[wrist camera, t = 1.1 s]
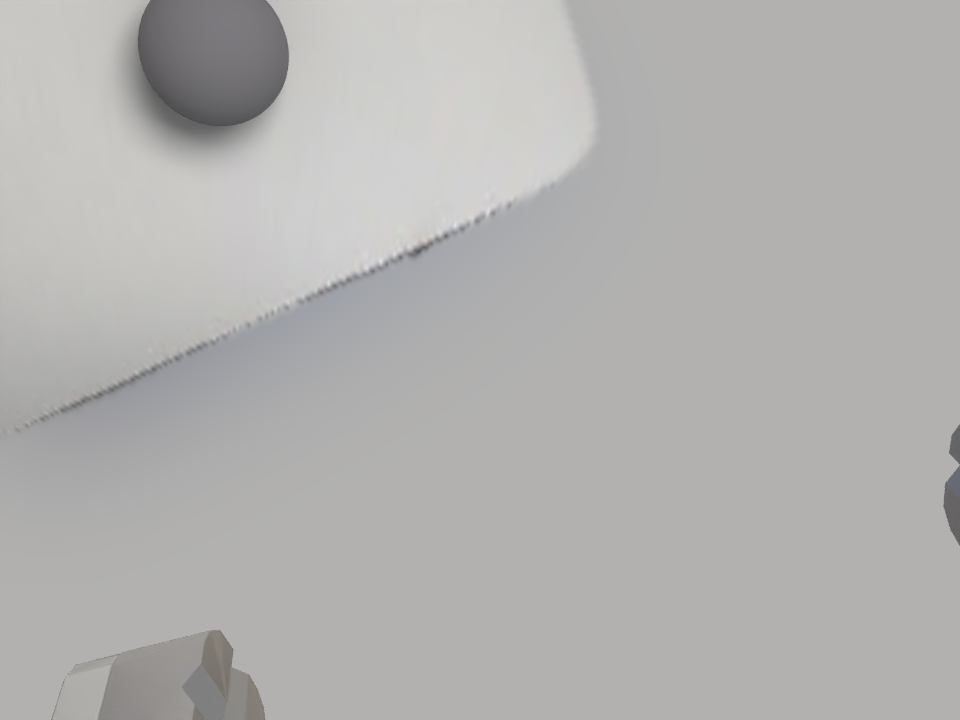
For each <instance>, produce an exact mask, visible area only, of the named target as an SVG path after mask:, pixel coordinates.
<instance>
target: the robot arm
mask: <svg viewBox="0 0 960 720" xmlns="http://www.w3.org/2000/svg"><path fill="white" fill-rule="evenodd" d="M949 453H950V455H952V457H954V459H955V460H956V461H957V462H958V463H959V464H960V425H959V426H958V427H957V429H956V430H955V432H954V433H953V434H952V437H951V444H950V451H949ZM944 509H945V513H946V516H947V519H948V523H949V526H950V529H951V531H952V533H953V535H954V536H955V538H956V540H957V542H958V543H959V545H960V466H959V467H958V469H957V470H956V471H955V472H954V474H953V475H952V476H951V477H950V478H949V480H948V481H947V482H946V484H945V494H944ZM232 656H233V648H232V647H231V645H230V644H229V642H228V641H227V639H226V638H225V637H224V635H223V634H222V632H221V631H220V630H217V631H216V630H215V631H207V632H203V633H199V634H195V635H191V636H187V637H183V638H179V639H175V640H170V641H167V642H162V643H159V644H154V645H150V646H146V647H142V648H138V649H134V650H130V651H126V652H122V653H121V654H117V655H113V656H109V657H105V658H101V659H97V660H93V661H89V662H85V663H81V664H77V665H75V667H74V668H73V669H72V670H71V671H70V673H69V674H68V675H67V676H66V678H65V679H64V682H63V685H62V688H61V691H60V694H59V698H58V701H57V704H56V707H55V710H54V713H53V716H52V720H265V714H264V707H263V704H262V701H261V698H260V695H259V692H258V690H257V688H256V686H255V684H254V682H253V681H252V679H251V677H250V676H249V674H246V673H244V672H241V671H239V670H237V669H234V668H232V667H231V665H232Z"/></svg>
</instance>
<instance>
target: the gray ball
mask: <svg viewBox="0 0 960 720" xmlns="http://www.w3.org/2000/svg"><path fill="white" fill-rule="evenodd" d="M138 49H139V55H140V60H141V63H142V67H143V70H144V72H145V75H146V77H147V79H148V81H149V83H150V84H151V86H152V88H153V89H154V90H155V92H156V93H157V94H158V95H159V97H160V98H161V99H162V100H163V101H164V102H165V103H166V104H168V105H169V106H170V107H171V108H172V109H174V110H175V111H177V112H178V113H180V114H181V115H183V116H185V117H187V118H189V119H191V120H194V121H196V122H199V123H203V124H208V125H215V126H228V125H235V124H239V123H243V122H246V121H248V120H250V119H253V118H254V117H256V116H258V115H260V114H261V113H262V112H263V111H265V110H266V109H267V108H268V107H269V106H270V105H271V104H272V103H273V102H274V100H275V99H276V97H277V96H278V95H279V93H280V91H281V89H282V87H283V85H284V82H285V79H286V75H287V70H288V62H289V52H288V44H287V39H286V35H285V32H284V29H283V26H282V24H281V22H280V20H279V18H278V16H277V15H276V13H275V11H274V10H273V8H272V7H271V6H270V5H269V3H268V2H267V1H266V0H151V1H150V2H149V4H148V5H147V7H146V9H145V11H144V14H143V16H142V19H141V23H140V27H139V35H138Z"/></svg>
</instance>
